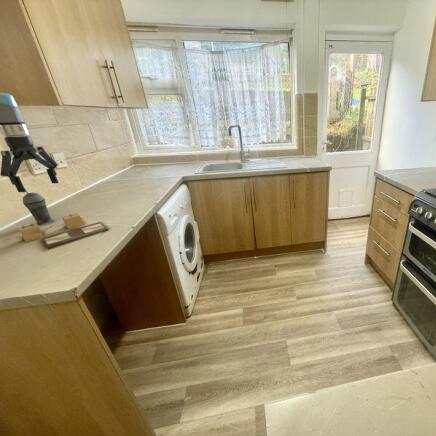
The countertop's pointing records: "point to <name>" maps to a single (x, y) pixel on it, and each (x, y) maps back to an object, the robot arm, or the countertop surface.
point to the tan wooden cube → (72, 220)
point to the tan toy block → (30, 232)
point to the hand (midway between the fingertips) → (39, 187)
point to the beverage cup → (37, 207)
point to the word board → (73, 235)
